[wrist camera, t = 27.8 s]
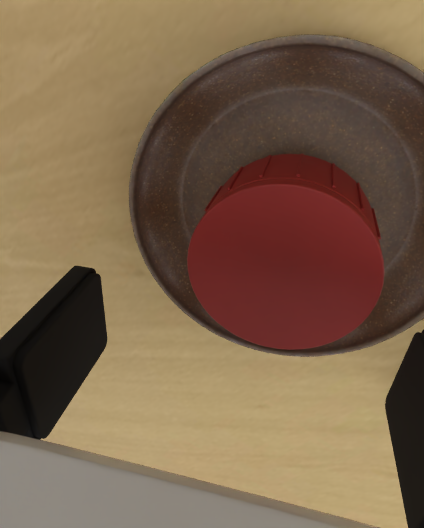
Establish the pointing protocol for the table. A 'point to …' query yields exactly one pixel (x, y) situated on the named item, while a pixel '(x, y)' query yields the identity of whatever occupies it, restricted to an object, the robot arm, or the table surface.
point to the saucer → (289, 142)
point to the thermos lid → (288, 253)
